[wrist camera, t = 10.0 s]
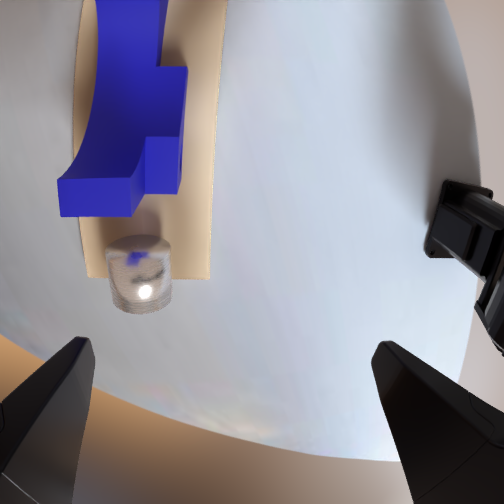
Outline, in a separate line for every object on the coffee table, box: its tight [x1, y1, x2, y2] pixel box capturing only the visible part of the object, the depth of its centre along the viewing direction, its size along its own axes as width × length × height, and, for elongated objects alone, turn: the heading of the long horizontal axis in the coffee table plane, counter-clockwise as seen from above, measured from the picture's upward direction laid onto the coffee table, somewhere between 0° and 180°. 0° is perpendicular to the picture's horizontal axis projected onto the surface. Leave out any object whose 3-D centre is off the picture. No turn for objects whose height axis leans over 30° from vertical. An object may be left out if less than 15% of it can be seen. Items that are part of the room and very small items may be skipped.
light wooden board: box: [73, 0, 228, 279], centre depth 14 cm, size 8×25×1 cm, turn 175°
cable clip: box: [57, 0, 189, 217], centre depth 11 cm, size 12×4×6 cm, turn 174°
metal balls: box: [105, 235, 173, 314], centre depth 12 cm, size 4×25×4 cm, turn 175°
